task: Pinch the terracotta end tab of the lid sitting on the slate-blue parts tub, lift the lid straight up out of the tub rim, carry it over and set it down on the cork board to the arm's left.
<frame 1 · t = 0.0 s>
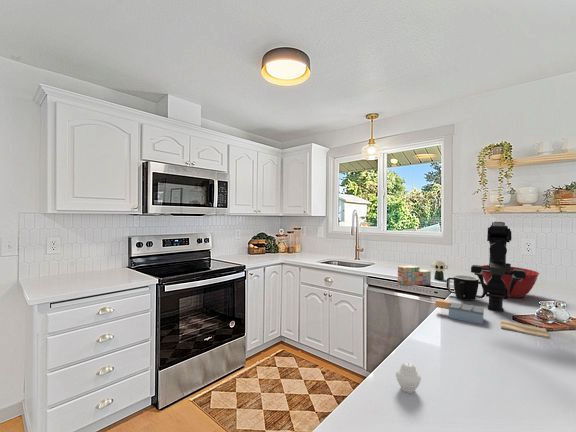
hand: (496, 291, 126), 15 cm above the countertop, tool pointing down, fingers open, 9 cm apart
mixing bowl: (507, 295, 179), on the countertop
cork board: (523, 329, 124), on the countertop
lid: (466, 311, 135), point 3 cm above the countertop, touching tub
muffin: (407, 390, 79), on the countertop
big eared figurine: (439, 279, 218), on the countertop
mug: (465, 298, 168), on the countertop
stack of blocks: (413, 284, 200), on the countertop
tub: (466, 318, 136), on the countertop
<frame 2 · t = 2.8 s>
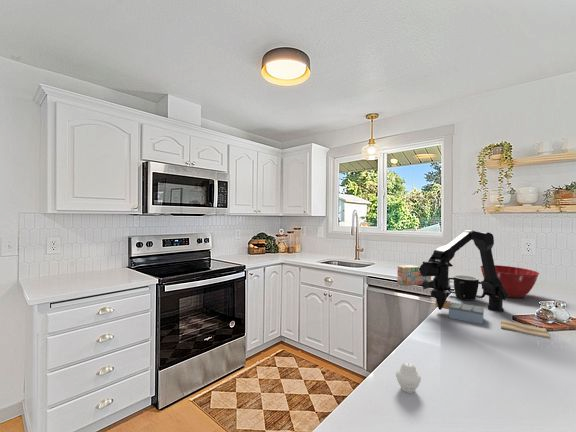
hand: (440, 308, 141), 2 cm above the countertop, tool pointing down, fingers closed on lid, 3 cm apart
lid: (466, 311, 135), point 3 cm above the countertop, touching gripper, tub
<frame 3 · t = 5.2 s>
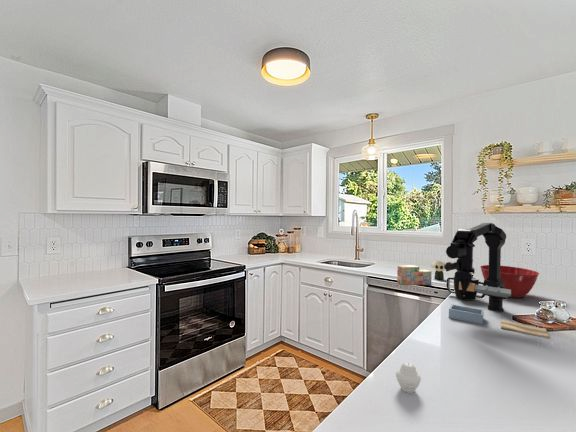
hand: (464, 291, 136), 12 cm above the countertop, tool pointing down, fingers closed on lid, 3 cm apart
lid: (492, 293, 130), point 13 cm above the countertop, touching gripper
when the fingers open (1 cm above the countertop, at t = 7.8 s): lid drops 1 cm, resting on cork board.
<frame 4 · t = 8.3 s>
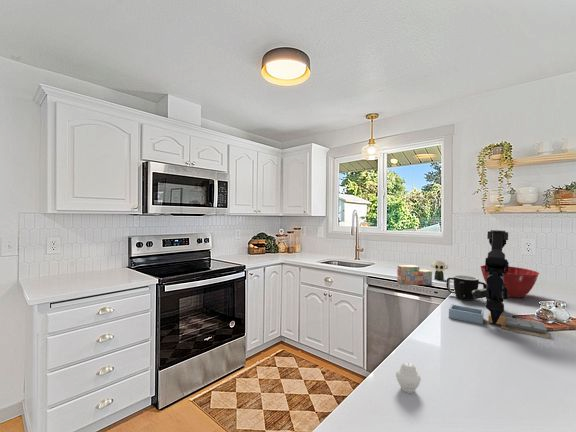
hand: (494, 320, 130), 1 cm above the countertop, tool pointing down, fingers open, 9 cm apart
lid: (524, 327, 124), point 1 cm above the countertop, touching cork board
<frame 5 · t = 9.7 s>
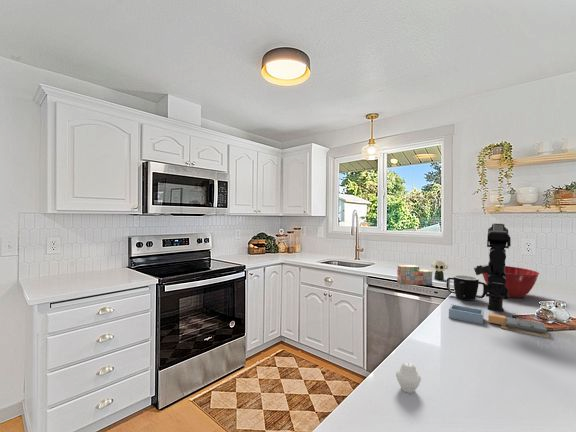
hand: (496, 295, 131), 12 cm above the countertop, tool pointing down, fingers open, 9 cm apart
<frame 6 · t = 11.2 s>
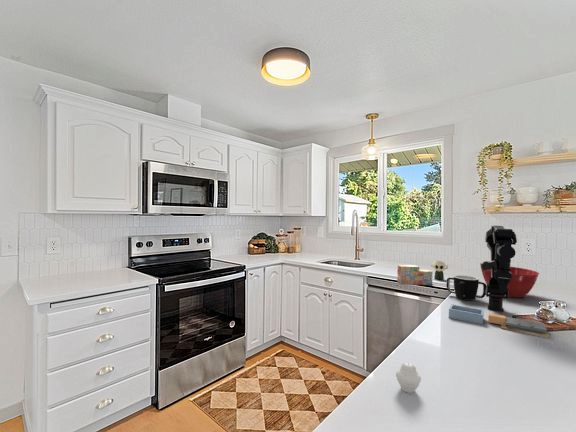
hand: (501, 290, 135), 13 cm above the countertop, tool pointing down, fingers open, 9 cm apart
at the end: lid inside the target area (0.1 cm from its centre), point 0.6 cm above the countertop; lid touching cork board; the gripper is holding nothing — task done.
